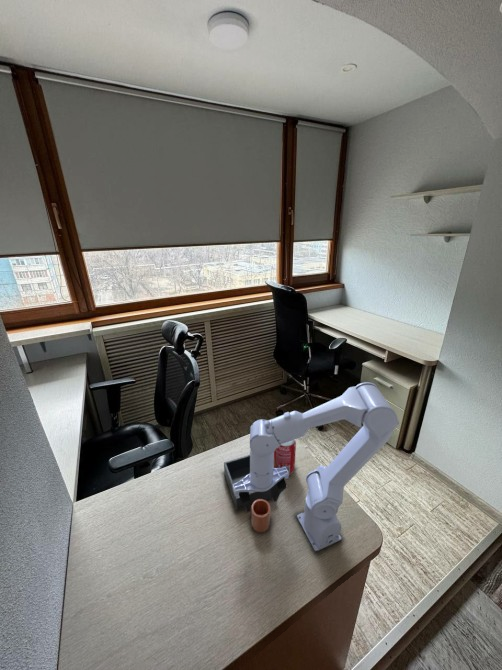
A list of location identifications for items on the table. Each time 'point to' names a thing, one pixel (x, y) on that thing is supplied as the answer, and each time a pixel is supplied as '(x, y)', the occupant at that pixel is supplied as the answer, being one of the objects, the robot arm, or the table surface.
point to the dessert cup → (260, 515)
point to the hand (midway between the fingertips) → (260, 503)
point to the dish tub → (235, 473)
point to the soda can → (285, 456)
